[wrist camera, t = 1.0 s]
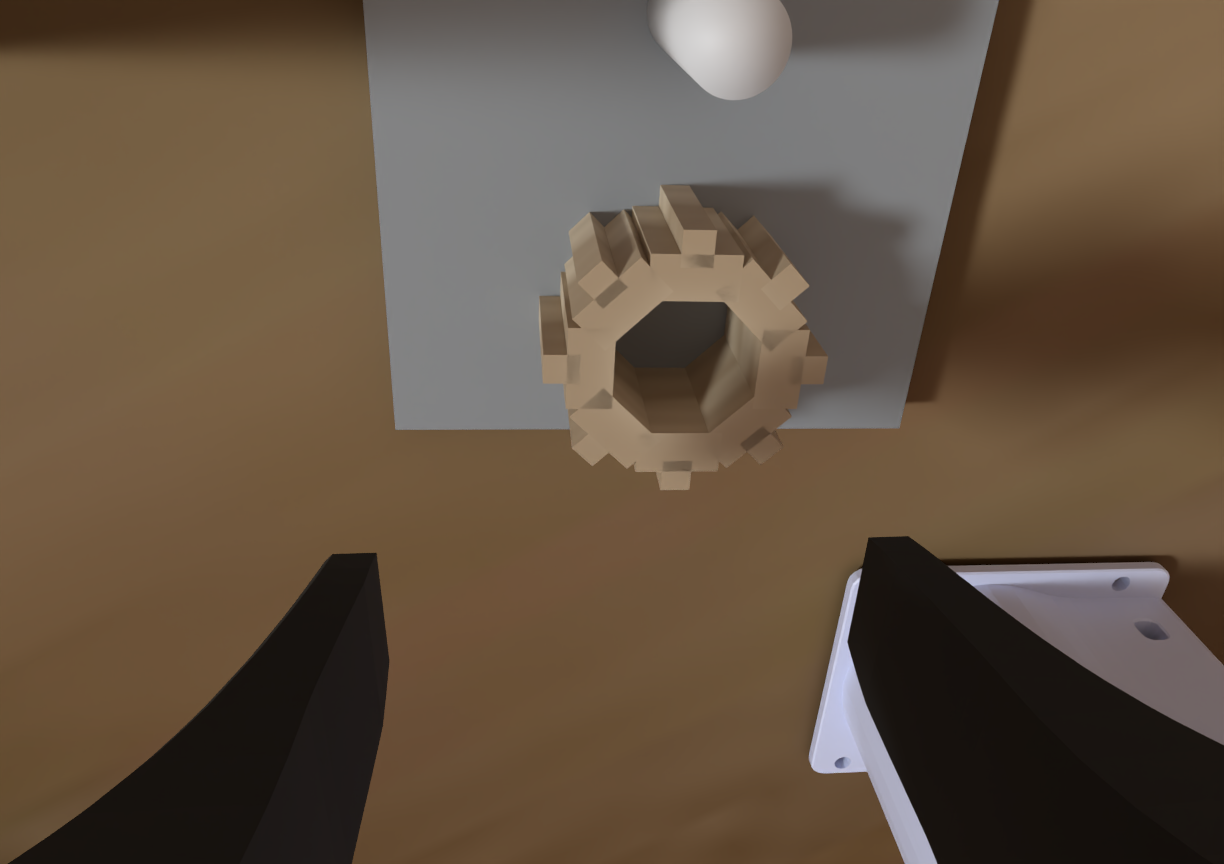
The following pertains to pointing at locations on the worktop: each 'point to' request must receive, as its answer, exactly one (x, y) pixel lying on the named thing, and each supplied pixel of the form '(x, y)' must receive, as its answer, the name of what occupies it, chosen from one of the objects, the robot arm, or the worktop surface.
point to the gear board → (661, 178)
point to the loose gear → (711, 384)
